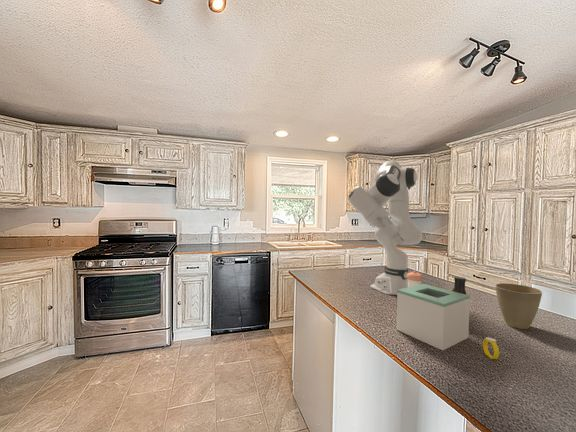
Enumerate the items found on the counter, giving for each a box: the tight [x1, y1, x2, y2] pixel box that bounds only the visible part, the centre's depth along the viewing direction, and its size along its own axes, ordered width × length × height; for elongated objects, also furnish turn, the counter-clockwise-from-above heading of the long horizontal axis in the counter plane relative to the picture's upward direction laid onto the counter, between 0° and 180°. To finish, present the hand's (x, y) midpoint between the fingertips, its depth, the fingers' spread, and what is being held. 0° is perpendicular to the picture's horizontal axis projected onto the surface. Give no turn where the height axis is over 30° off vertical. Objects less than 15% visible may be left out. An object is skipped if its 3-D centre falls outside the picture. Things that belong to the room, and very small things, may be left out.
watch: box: [482, 336, 500, 360], centre depth 86 cm, size 6×3×6 cm, turn 173°
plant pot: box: [494, 282, 543, 330], centre depth 110 cm, size 15×15×16 cm
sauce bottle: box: [451, 276, 468, 295], centre depth 110 cm, size 7×6×20 cm
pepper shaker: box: [407, 270, 424, 287], centre depth 124 cm, size 7×7×19 cm
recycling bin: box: [396, 283, 471, 351], centre depth 101 cm, size 18×18×16 cm
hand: (402, 243), depth 107 cm, fingers open, 8 cm apart
